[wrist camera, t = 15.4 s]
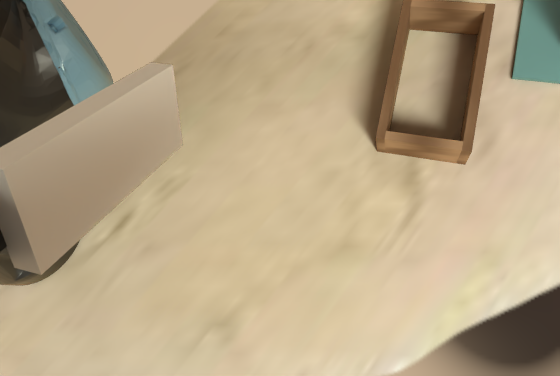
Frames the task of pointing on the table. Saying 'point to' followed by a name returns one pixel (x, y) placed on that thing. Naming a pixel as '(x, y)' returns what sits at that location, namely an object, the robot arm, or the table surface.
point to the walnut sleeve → (478, 21)
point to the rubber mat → (538, 42)
